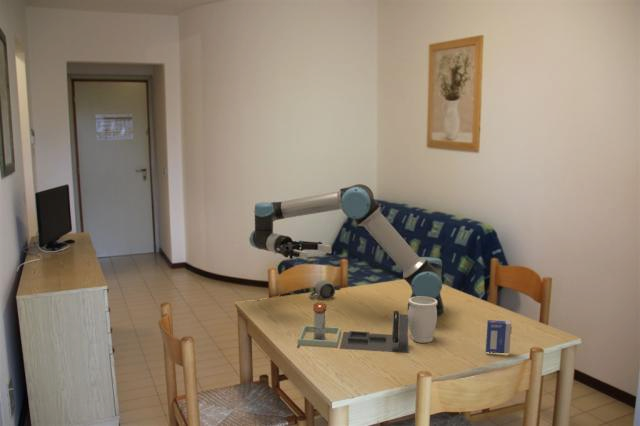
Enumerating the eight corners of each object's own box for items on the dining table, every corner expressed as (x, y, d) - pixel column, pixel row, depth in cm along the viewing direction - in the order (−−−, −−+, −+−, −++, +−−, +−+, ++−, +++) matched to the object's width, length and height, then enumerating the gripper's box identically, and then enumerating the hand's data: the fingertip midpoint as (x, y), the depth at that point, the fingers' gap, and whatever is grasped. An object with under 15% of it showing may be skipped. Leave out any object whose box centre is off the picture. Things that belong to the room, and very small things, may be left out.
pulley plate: (407, 338, 215) (409, 303, 213) (408, 355, 200) (410, 318, 198) (343, 334, 219) (344, 299, 216) (339, 351, 203) (340, 314, 201)
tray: (340, 335, 218) (340, 327, 217) (336, 349, 204) (337, 341, 203) (303, 332, 219) (303, 325, 219) (297, 347, 206) (297, 339, 205)
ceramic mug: (329, 293, 267) (329, 277, 266) (335, 299, 260) (335, 282, 258) (307, 296, 264) (307, 280, 262) (313, 301, 256) (312, 285, 255)
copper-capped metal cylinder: (326, 336, 214) (327, 303, 211) (325, 341, 209) (325, 307, 207) (313, 336, 214) (314, 302, 212) (312, 341, 210) (312, 306, 207)
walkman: (486, 354, 202) (488, 321, 200) (485, 351, 204) (487, 318, 202) (510, 356, 200) (512, 323, 198) (508, 353, 203) (511, 320, 201)
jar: (418, 346, 208) (420, 306, 205) (401, 336, 217) (403, 298, 214) (441, 341, 213) (443, 302, 210) (424, 332, 222) (426, 294, 219)
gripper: (301, 248, 244) (340, 256, 229) (257, 258, 225) (295, 268, 211) (301, 230, 242) (340, 238, 228) (256, 239, 224) (295, 248, 210)
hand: (319, 252), depth 220 cm, fingers open, 13 cm apart
